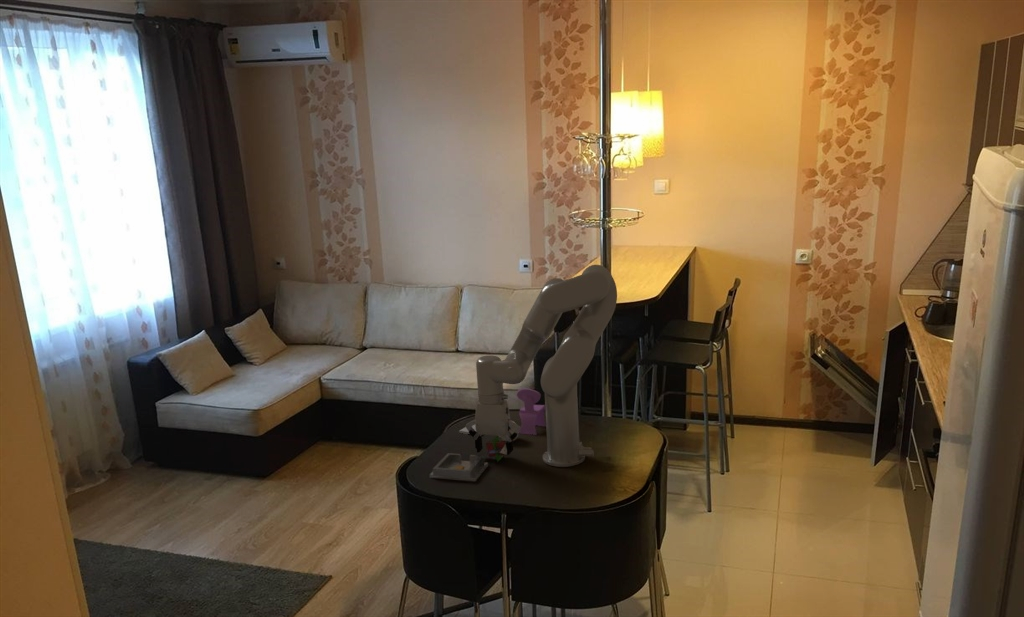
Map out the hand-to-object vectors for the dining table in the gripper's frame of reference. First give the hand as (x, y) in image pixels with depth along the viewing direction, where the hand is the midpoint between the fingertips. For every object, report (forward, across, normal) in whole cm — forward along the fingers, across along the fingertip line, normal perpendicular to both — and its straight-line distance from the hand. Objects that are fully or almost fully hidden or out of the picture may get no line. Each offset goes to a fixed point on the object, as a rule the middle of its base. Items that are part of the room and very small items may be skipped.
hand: (494, 451), depth 235 cm
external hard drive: (+3, +13, -24) cm, 27 cm away
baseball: (+3, 0, -15) cm, 15 cm away
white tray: (+2, +8, +10) cm, 13 cm away
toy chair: (+3, -5, -26) cm, 26 cm away
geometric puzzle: (+2, 0, 0) cm, 2 cm away
